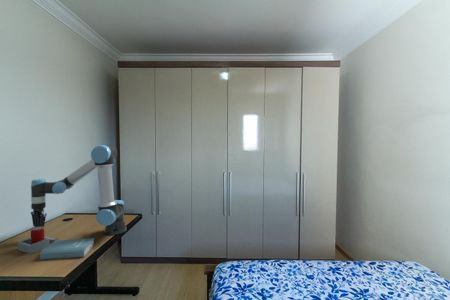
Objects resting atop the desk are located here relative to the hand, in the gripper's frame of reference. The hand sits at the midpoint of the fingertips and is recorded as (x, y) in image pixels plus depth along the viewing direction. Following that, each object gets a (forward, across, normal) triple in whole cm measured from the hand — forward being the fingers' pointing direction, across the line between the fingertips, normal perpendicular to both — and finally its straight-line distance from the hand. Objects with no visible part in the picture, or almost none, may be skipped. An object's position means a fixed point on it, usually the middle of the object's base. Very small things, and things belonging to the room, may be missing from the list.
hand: (38, 237), depth 159 cm
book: (+3, -34, +3) cm, 34 cm away
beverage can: (+2, -10, +6) cm, 12 cm away
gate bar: (+2, -9, 0) cm, 9 cm away
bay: (+2, -11, +6) cm, 13 cm away
